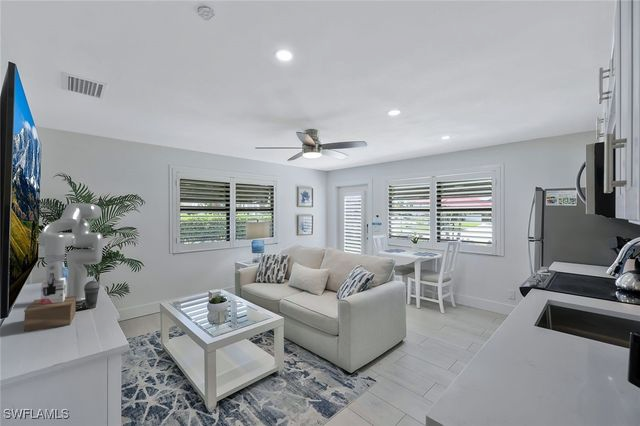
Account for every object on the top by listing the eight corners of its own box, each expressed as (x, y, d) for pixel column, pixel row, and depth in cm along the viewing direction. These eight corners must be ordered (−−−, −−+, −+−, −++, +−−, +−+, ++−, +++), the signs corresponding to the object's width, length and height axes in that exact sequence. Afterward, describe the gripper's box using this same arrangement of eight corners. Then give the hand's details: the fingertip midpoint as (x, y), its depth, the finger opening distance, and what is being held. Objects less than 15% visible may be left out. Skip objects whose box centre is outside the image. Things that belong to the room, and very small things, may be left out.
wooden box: (34, 319, 144) (35, 301, 144) (75, 313, 153) (76, 297, 153) (23, 331, 129) (24, 312, 129) (69, 325, 138) (70, 307, 139)
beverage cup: (86, 305, 166) (87, 272, 166) (100, 304, 169) (102, 271, 169) (80, 309, 159) (82, 275, 159) (96, 308, 162) (97, 274, 162)
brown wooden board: (34, 301, 144) (34, 299, 144) (76, 297, 153) (76, 295, 153) (24, 312, 129) (24, 310, 129) (71, 306, 139) (71, 304, 139)
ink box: (40, 304, 137) (41, 280, 137) (42, 302, 141) (43, 278, 141) (63, 302, 142) (64, 279, 142) (65, 299, 146) (66, 277, 146)
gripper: (61, 260, 137) (59, 295, 136) (67, 255, 151) (66, 287, 151) (40, 261, 132) (38, 297, 132) (48, 256, 146) (47, 288, 146)
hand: (53, 291), depth 141 cm, fingers open, 9 cm apart
